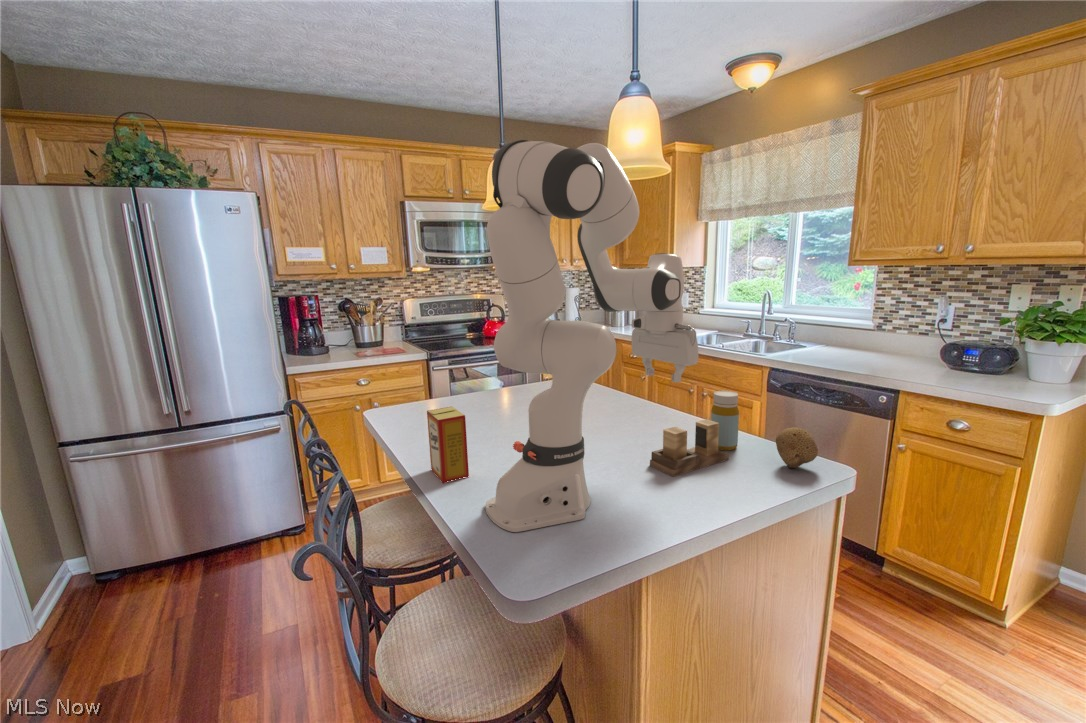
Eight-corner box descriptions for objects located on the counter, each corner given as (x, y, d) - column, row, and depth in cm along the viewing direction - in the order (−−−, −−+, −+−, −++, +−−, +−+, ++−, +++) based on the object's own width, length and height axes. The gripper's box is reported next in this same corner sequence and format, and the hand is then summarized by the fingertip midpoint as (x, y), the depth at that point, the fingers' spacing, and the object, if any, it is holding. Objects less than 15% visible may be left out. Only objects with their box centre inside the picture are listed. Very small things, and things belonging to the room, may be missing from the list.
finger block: (674, 465, 118) (675, 434, 116) (662, 460, 121) (663, 429, 120) (687, 461, 120) (688, 430, 118) (675, 456, 123) (676, 426, 122)
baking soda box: (468, 477, 118) (465, 414, 115) (442, 483, 115) (438, 418, 112) (455, 464, 126) (452, 405, 124) (431, 469, 123) (426, 409, 120)
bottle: (739, 451, 129) (742, 397, 126) (711, 450, 131) (713, 396, 128) (734, 442, 136) (737, 390, 133) (708, 441, 137) (710, 390, 135)
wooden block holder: (672, 476, 115) (673, 438, 113) (649, 465, 122) (650, 429, 120) (728, 459, 124) (729, 424, 122) (703, 450, 131) (704, 416, 129)
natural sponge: (811, 461, 121) (814, 423, 119) (820, 476, 113) (823, 435, 111) (771, 458, 124) (774, 421, 122) (777, 472, 115) (780, 432, 114)
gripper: (706, 324, 110) (703, 384, 112) (646, 319, 128) (645, 370, 130) (685, 326, 107) (683, 387, 109) (627, 320, 125) (626, 373, 127)
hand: (662, 378), depth 120 cm, fingers open, 8 cm apart
